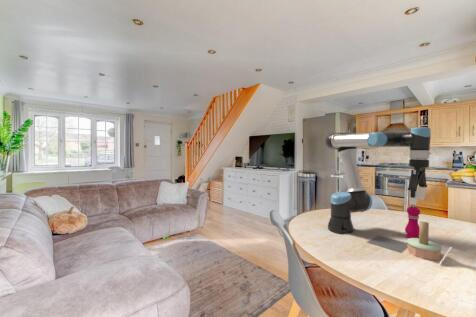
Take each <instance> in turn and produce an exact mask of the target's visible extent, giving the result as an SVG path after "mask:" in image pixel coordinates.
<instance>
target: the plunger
mask: <svg viewBox="0 0 476 317" xmlns="http://www.w3.org/2000/svg"><path fill="white" fill-rule="evenodd" d="M429 224H430V223H429V222H427V221H419V224H418V225H419V238H406V243H408V244H409V245H411V246H413V247H415V248H419V249H422V250H427V251H440V250H441V251H442V248H443V247H442V245H441V244H439V243H437V242H435V241H432V240H429Z"/></svg>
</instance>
